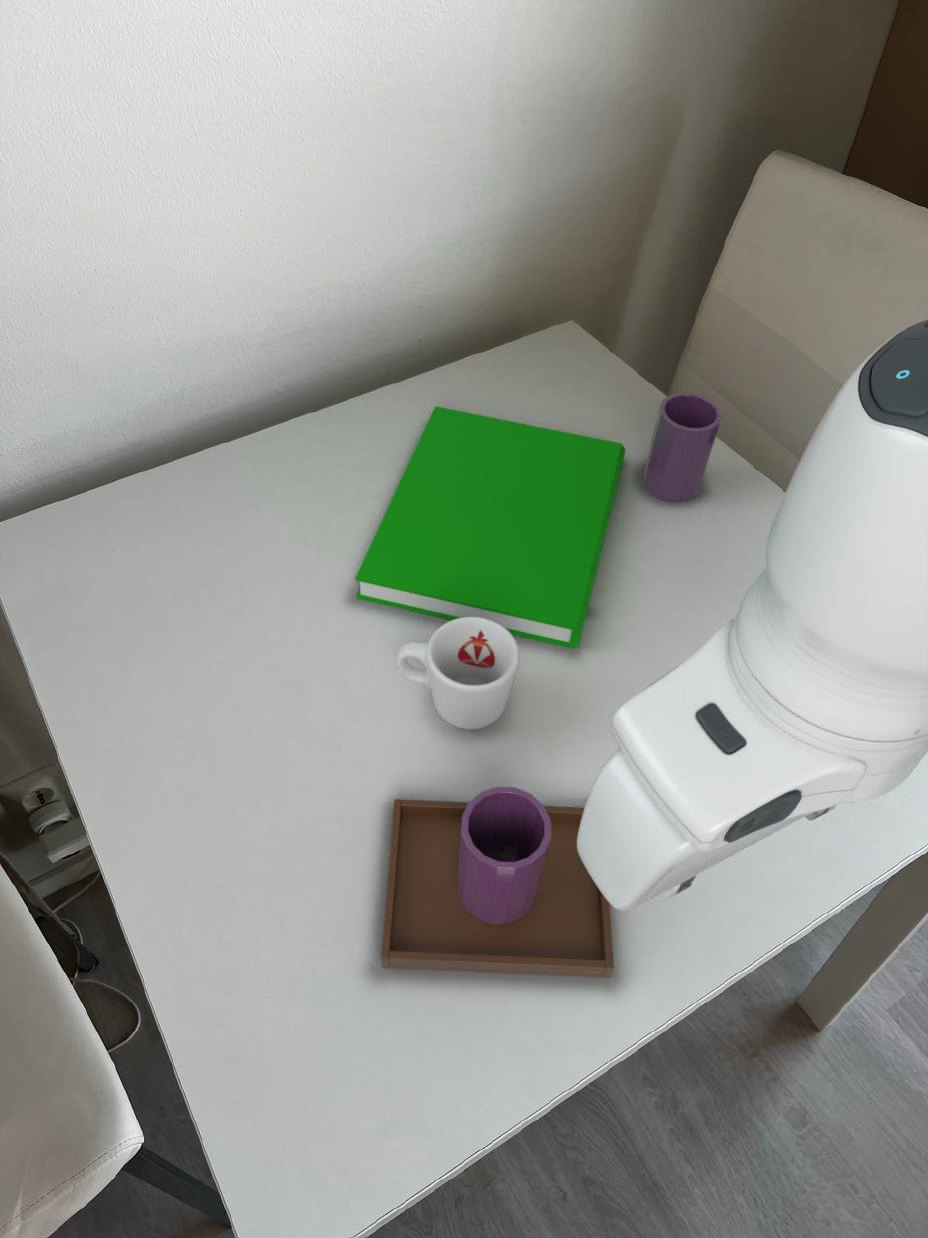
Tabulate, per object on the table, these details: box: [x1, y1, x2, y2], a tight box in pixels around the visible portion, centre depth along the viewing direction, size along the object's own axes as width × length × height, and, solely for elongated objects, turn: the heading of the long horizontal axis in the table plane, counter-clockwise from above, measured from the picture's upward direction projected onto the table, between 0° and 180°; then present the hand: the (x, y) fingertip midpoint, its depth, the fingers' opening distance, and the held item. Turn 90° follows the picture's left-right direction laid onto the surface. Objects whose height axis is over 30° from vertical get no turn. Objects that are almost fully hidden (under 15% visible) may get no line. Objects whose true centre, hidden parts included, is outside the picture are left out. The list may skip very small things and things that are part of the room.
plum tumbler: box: [457, 786, 551, 925], centre depth 71 cm, size 6×6×10 cm
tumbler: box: [642, 392, 722, 503], centre depth 104 cm, size 6×6×10 cm
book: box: [354, 405, 626, 649], centre depth 101 cm, size 22×28×3 cm
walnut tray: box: [380, 798, 615, 979], centre depth 75 cm, size 17×13×2 cm
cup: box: [395, 617, 521, 731], centre depth 84 cm, size 11×8×8 cm
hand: (740, 842), depth 50 cm, fingers open, 8 cm apart
